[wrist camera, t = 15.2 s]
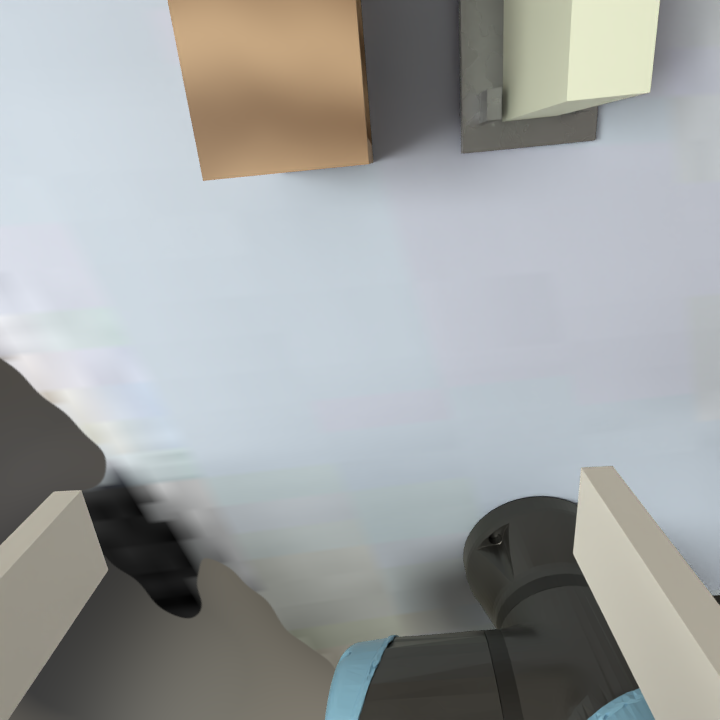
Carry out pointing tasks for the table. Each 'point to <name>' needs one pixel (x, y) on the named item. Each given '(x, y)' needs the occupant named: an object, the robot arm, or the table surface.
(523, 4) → the door panel
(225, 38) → the cabinet
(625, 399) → the table surface
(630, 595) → the robot arm
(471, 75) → the grey pegged base plate
